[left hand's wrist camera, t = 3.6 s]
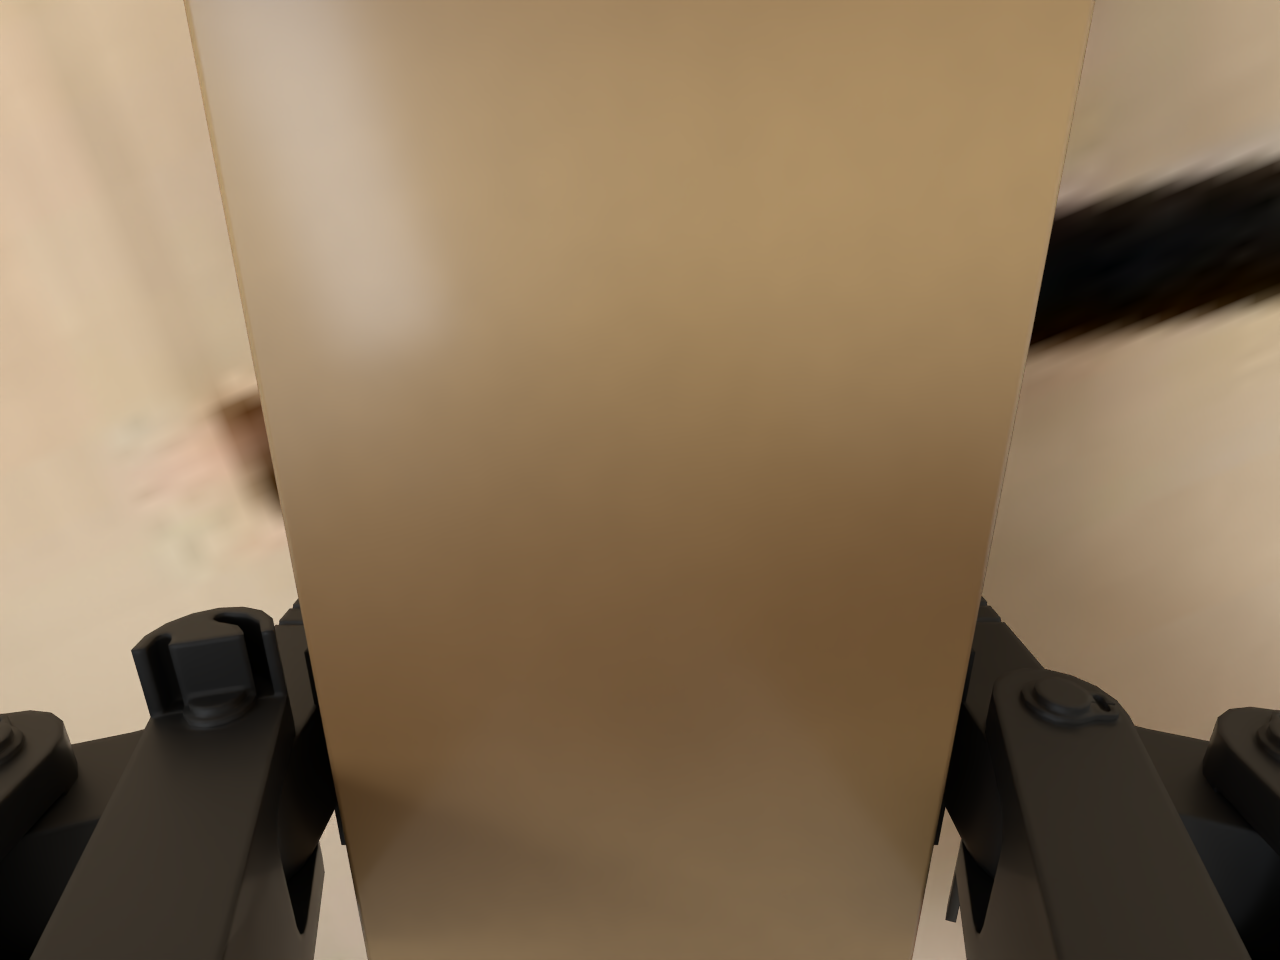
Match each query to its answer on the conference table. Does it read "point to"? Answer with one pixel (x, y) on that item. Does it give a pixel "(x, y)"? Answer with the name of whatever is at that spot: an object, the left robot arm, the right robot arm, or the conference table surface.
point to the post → (639, 439)
